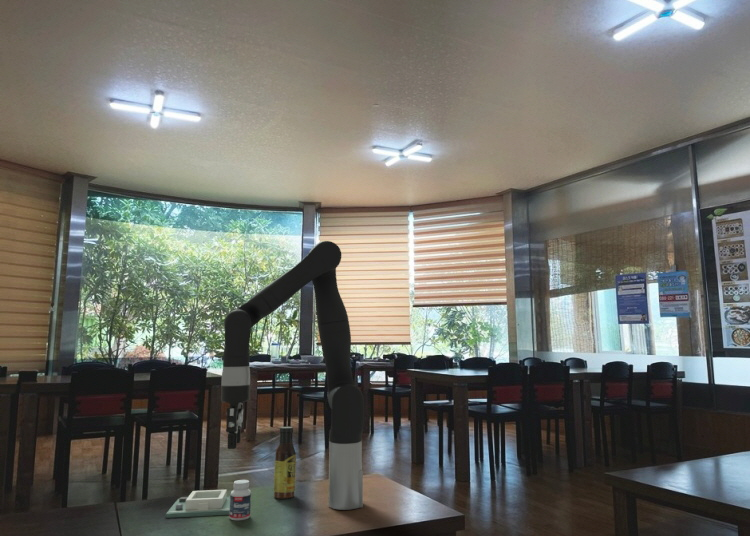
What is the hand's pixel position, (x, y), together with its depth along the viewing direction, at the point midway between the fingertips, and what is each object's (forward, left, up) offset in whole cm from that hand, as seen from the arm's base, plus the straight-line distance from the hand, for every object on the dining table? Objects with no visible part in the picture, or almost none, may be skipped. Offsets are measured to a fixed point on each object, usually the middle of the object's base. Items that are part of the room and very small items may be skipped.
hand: (234, 445), depth 135 cm
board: (+8, -9, -18) cm, 21 cm away
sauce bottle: (-13, -17, -18) cm, 28 cm away
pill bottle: (-2, +1, -18) cm, 18 cm away
